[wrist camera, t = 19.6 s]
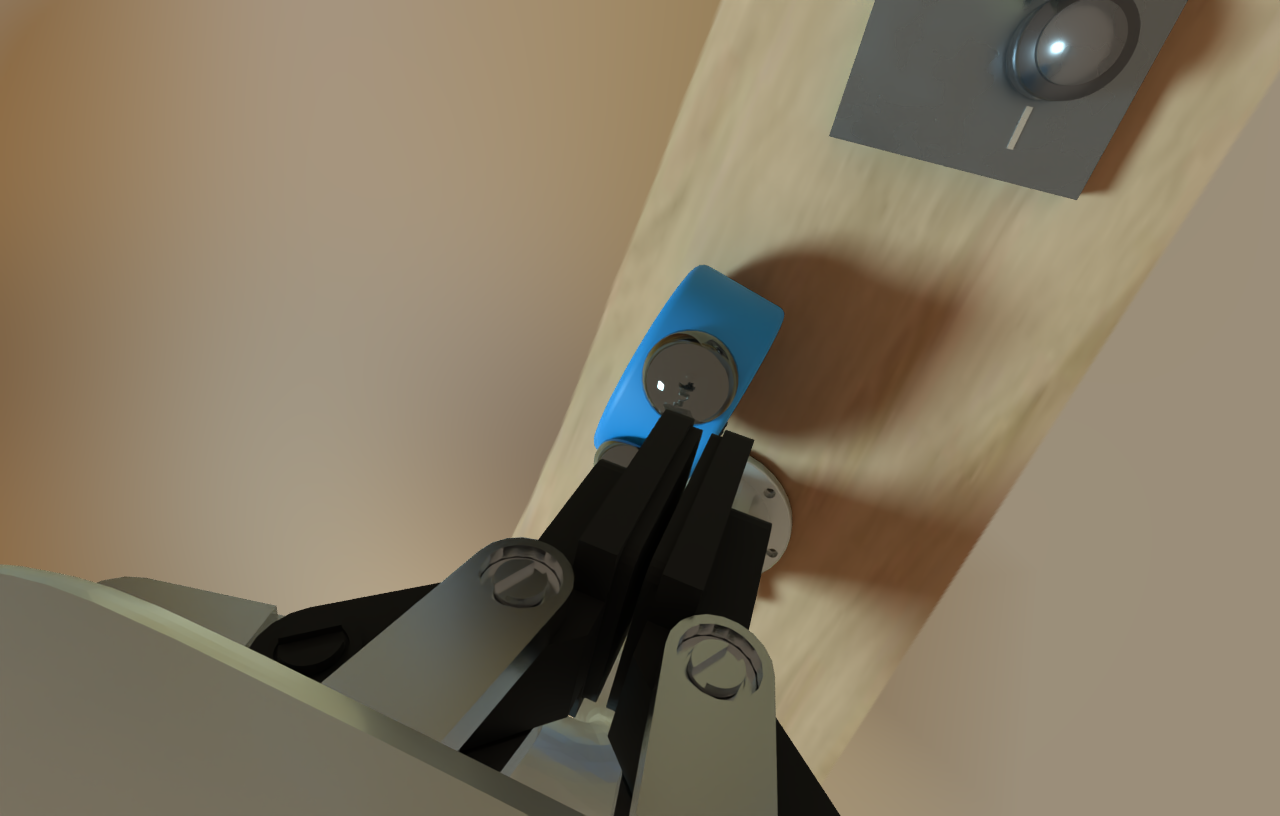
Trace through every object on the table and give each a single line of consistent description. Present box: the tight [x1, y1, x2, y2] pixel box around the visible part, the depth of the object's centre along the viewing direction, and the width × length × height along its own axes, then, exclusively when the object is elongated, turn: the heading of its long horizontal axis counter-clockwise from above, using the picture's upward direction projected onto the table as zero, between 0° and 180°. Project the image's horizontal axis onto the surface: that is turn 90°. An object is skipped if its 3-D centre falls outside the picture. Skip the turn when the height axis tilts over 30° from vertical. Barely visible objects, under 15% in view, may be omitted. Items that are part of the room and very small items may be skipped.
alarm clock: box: [594, 265, 784, 480], centre depth 37 cm, size 13×6×15 cm, turn 155°
